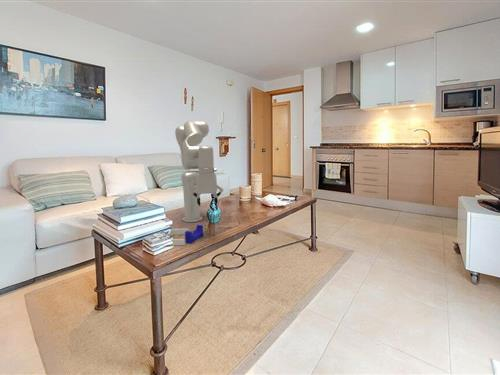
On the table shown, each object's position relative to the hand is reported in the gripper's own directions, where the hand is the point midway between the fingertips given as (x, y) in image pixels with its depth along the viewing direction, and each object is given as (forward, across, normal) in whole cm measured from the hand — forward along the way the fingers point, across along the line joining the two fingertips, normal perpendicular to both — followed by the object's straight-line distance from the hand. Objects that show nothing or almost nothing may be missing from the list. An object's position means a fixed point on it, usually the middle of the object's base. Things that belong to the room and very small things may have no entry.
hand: (207, 205), depth 136 cm
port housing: (+18, +16, 0) cm, 24 cm away
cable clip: (+18, +8, 0) cm, 20 cm away
